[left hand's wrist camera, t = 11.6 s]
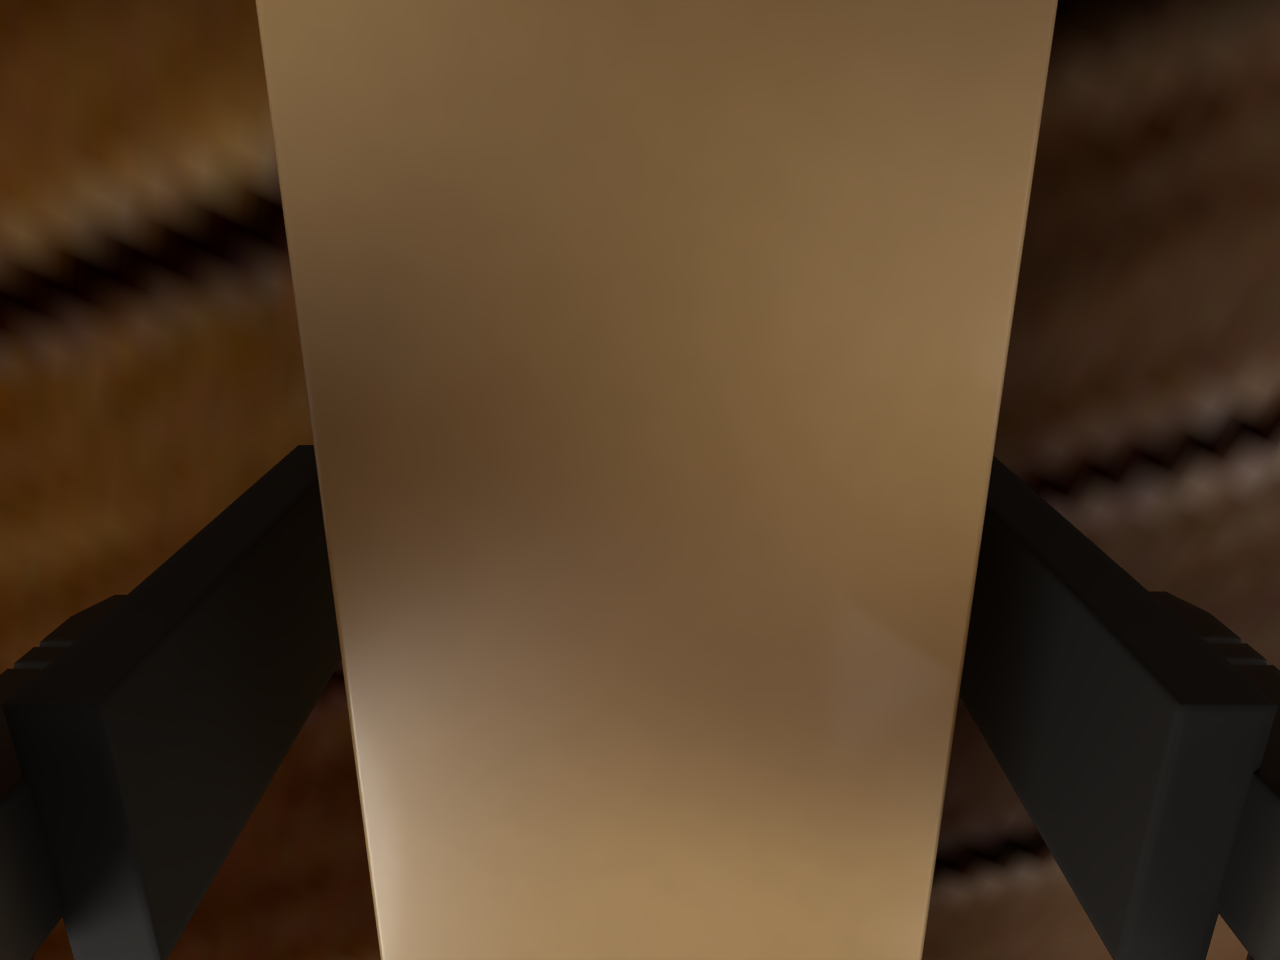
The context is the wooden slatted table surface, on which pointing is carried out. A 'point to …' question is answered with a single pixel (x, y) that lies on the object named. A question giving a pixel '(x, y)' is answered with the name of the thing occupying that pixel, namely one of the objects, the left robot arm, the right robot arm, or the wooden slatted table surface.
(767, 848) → the post
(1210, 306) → the wooden slatted table surface
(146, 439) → the wooden slatted table surface
